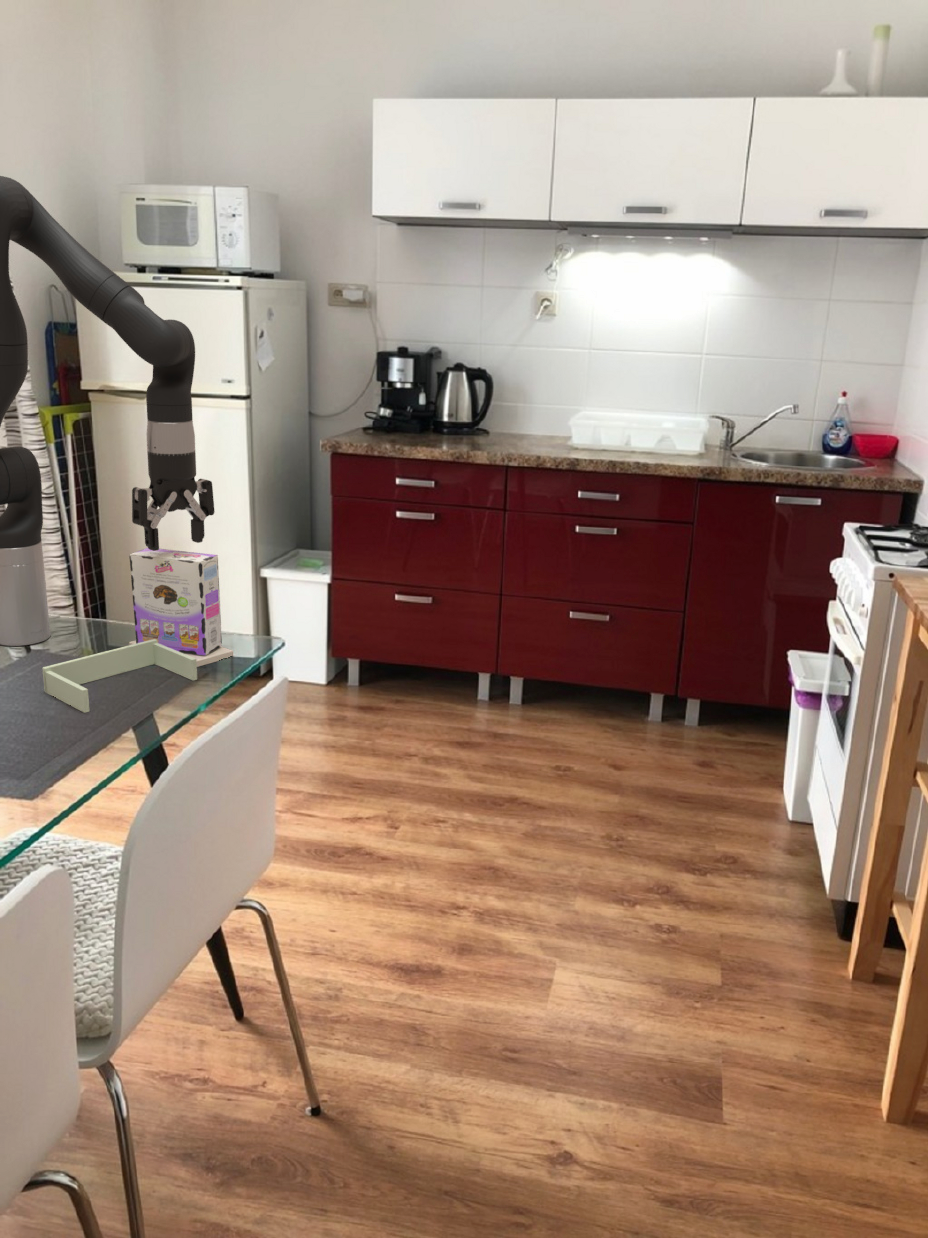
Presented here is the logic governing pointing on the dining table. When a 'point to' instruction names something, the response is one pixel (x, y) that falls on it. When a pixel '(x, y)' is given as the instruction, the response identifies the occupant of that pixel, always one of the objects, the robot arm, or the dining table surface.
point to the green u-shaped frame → (111, 669)
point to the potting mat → (208, 658)
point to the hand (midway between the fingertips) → (175, 545)
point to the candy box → (177, 599)
